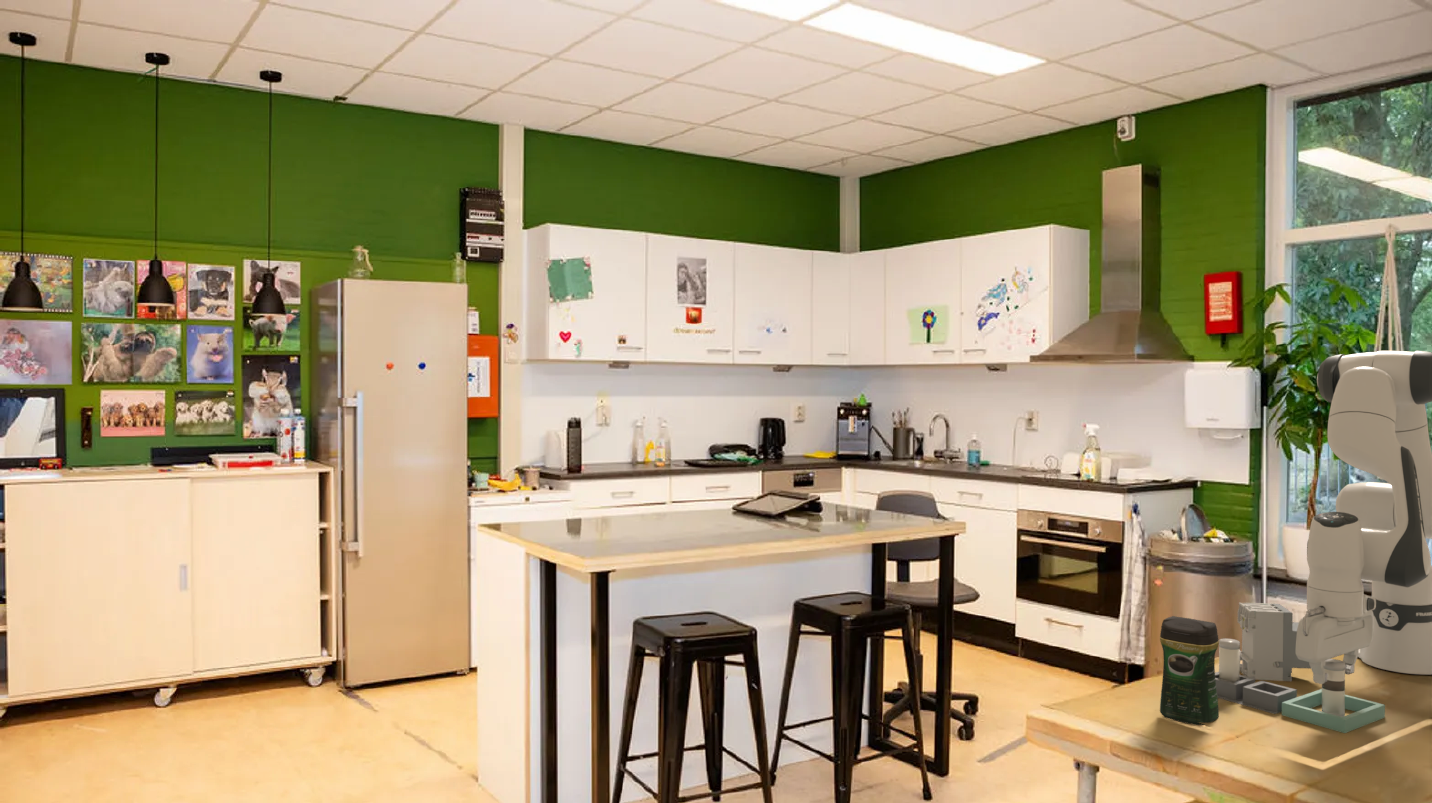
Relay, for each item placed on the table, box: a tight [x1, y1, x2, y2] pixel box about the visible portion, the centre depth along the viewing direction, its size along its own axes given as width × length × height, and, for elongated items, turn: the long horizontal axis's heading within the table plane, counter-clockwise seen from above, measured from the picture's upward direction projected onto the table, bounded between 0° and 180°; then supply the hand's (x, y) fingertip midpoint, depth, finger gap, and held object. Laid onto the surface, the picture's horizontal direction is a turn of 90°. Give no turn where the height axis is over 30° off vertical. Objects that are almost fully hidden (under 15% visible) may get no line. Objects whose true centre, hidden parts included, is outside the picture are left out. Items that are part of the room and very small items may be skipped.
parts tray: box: [1281, 688, 1386, 734], centre depth 187 cm, size 14×11×3 cm
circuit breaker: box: [1237, 602, 1312, 682], centre depth 211 cm, size 8×14×15 cm, turn 78°
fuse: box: [1218, 638, 1241, 683], centre depth 200 cm, size 4×4×10 cm
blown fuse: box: [1321, 658, 1346, 717], centre depth 187 cm, size 4×4×10 cm
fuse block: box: [1215, 671, 1298, 715], centre depth 197 cm, size 9×15×4 cm, turn 32°
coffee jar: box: [1159, 615, 1220, 726], centre depth 189 cm, size 10×8×19 cm
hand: (1333, 678), depth 187 cm, fingers open, 8 cm apart
